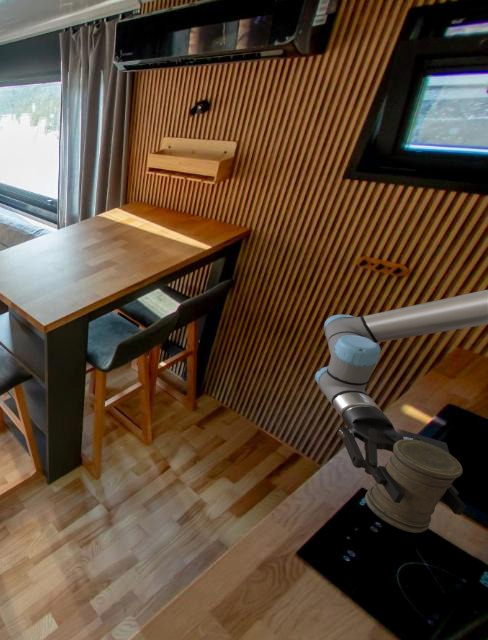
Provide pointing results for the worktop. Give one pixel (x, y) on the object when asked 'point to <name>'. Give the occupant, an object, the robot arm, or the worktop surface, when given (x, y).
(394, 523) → the container
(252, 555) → the worktop surface
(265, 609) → the worktop surface
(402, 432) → the base pad
